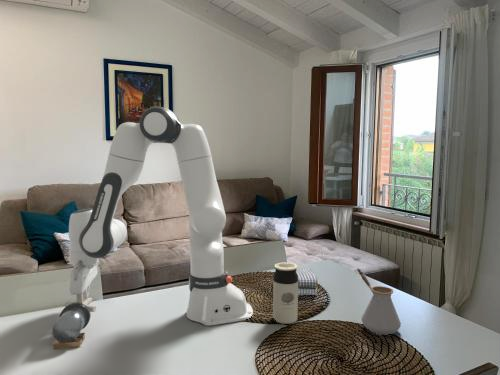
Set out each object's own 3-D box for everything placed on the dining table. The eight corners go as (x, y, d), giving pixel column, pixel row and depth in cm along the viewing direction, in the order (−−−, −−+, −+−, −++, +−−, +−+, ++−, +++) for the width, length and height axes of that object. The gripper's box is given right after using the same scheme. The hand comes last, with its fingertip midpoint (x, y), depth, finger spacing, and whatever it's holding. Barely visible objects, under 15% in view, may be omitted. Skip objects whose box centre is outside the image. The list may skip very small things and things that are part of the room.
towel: (279, 298, 146) (279, 277, 145) (274, 281, 164) (275, 263, 163) (319, 297, 146) (319, 277, 146) (310, 281, 165) (310, 263, 164)
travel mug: (274, 313, 131) (274, 261, 130) (297, 314, 130) (298, 262, 129) (272, 323, 124) (272, 268, 122) (297, 325, 123) (298, 270, 121)
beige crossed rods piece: (85, 332, 119) (83, 302, 117) (57, 327, 121) (54, 298, 119) (104, 315, 128) (102, 287, 126) (77, 311, 130) (75, 283, 128)
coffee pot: (408, 336, 115) (410, 288, 114) (373, 340, 113) (375, 291, 111) (370, 308, 136) (372, 266, 135) (340, 311, 133) (341, 268, 132)
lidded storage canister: (61, 332, 117) (60, 303, 116) (91, 330, 118) (90, 301, 117) (50, 349, 107) (48, 317, 106) (82, 347, 108) (81, 315, 108)
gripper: (85, 266, 118) (86, 310, 119) (101, 249, 138) (102, 286, 139) (63, 266, 117) (64, 311, 118) (82, 249, 137) (83, 287, 139)
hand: (85, 297), depth 129 cm, fingers closed
